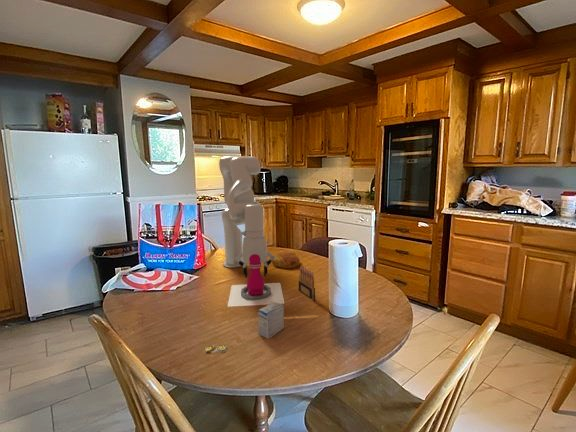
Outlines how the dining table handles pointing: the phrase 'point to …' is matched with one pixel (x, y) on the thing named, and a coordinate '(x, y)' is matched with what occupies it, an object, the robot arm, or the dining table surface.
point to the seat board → (238, 300)
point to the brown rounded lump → (286, 260)
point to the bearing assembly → (217, 349)
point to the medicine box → (271, 319)
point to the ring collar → (256, 297)
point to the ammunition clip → (306, 283)
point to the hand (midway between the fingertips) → (255, 275)
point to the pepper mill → (255, 276)
